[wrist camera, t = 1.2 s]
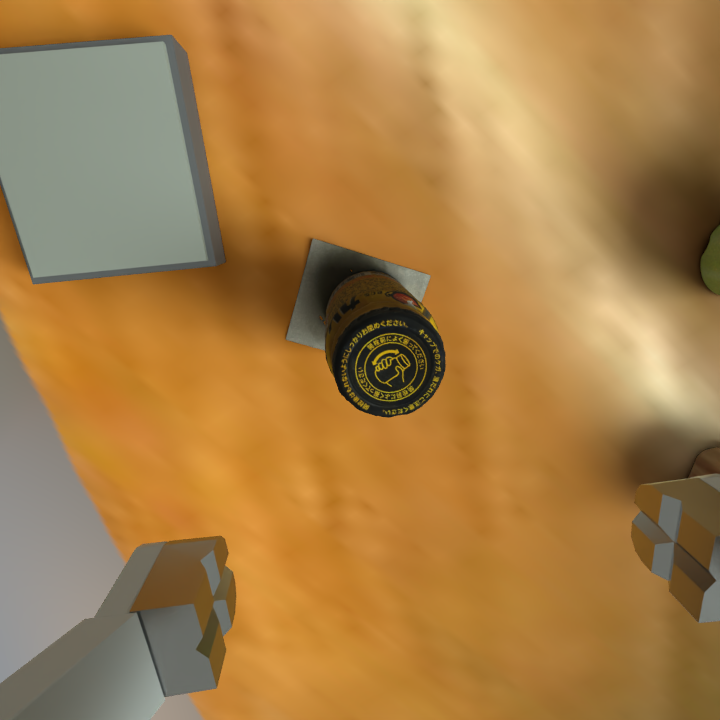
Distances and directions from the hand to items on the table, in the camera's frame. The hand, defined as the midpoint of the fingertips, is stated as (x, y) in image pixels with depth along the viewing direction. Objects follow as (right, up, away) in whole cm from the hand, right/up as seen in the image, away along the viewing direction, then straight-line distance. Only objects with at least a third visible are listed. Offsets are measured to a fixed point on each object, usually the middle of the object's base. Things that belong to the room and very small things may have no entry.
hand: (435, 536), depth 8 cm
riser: (-17, +15, +18) cm, 29 cm away
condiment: (-2, +7, +22) cm, 23 cm away
